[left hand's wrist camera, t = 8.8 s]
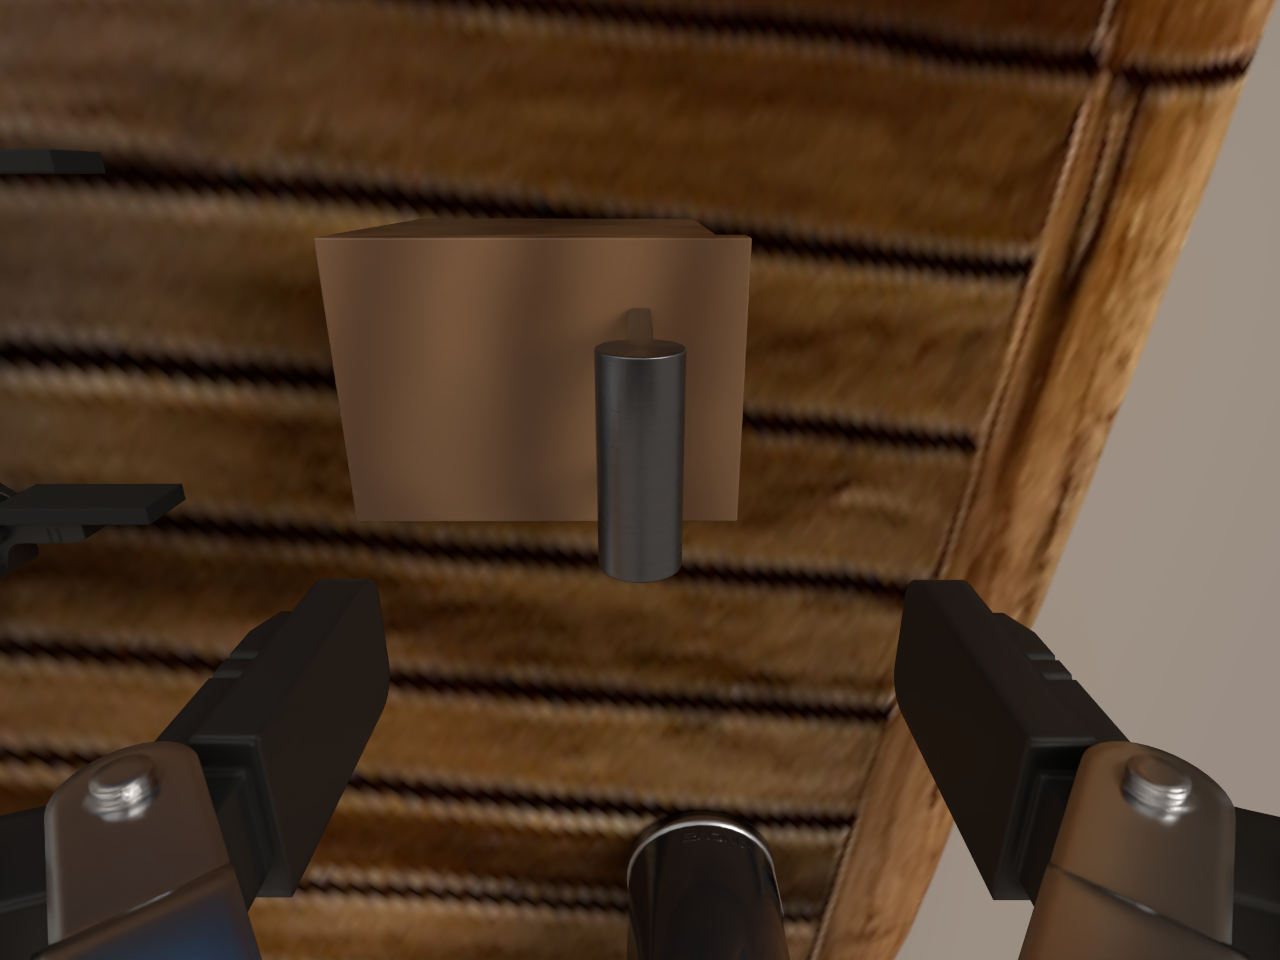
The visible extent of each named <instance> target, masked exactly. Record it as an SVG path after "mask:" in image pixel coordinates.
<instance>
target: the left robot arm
mask: <svg viewBox="0 0 1280 960" xmlns="http://www.w3.org/2000/svg"><path fill="white" fill-rule="evenodd" d="M389 680H390V670H389V661H388V654H387V647H386V640H385V633H384V627H383V620H382V613H381V606H380V599H379V593H378V589H377V586H376V584H375V582H374V581H373V580H372V579H319V580H318V581H317V582H316V583H315V584H314V585H313V586H312V587H311V589H310V590H309V591H308V592H307V594H306V595H305V596H304V597H303V598H302V600H301V601H300V602H299V603H298V605H297V606H296V607H295V608H294V610H293V611H292V612H280V613H278V614H277V615H275V616H273V617H272V618H270V619H269V620H267V621H265V622H264V623H262V624H261V625H259V626H257V627H256V628H254V629H253V630H251V631H250V632H249V633H248V634H247V635H246V636H245V638H244V639H243V640H242V641H241V642H240V643H239V645H238V646H237V647H236V648H235V649H234V650H233V651H232V653H231V654H230V659H226V660H225V661H224V662H223V663H222V664H221V665H220V666H219V668H218V669H217V670H216V671H215V672H214V677H213V678H209V679H208V680H207V681H206V683H205V684H204V685H203V686H202V687H201V688H200V690H199V691H198V692H197V693H196V694H195V695H194V697H193V698H192V699H191V700H190V701H189V702H188V703H187V705H186V706H185V707H184V708H183V709H182V710H181V712H180V713H179V714H178V715H177V716H176V717H175V718H174V720H173V721H172V722H171V723H170V724H169V725H168V727H167V728H166V729H165V730H164V731H163V732H162V733H161V735H160V736H159V737H158V738H157V739H156V740H155V742H148V743H142V744H138V745H133V746H130V747H126V748H123V749H120V750H117V751H115V752H112V753H110V754H107V755H105V756H103V757H101V758H99V759H97V760H95V761H93V762H92V763H90V764H88V765H86V766H85V767H83V768H82V769H80V770H79V771H77V772H76V773H75V774H73V775H72V776H71V777H70V778H68V779H67V780H66V781H65V782H64V783H63V784H62V785H61V786H60V787H59V788H58V789H57V790H56V791H55V792H54V794H53V795H52V797H51V798H50V800H49V802H48V804H47V806H42V807H38V808H33V809H29V810H24V811H20V812H15V813H11V814H6V815H2V816H0V960H262V958H261V955H260V952H259V949H258V945H257V942H256V939H255V936H254V932H253V929H252V926H251V922H250V919H249V916H248V913H247V912H248V910H249V909H250V907H251V905H252V903H253V901H254V899H255V897H293V895H294V893H295V891H296V888H297V886H298V884H299V882H300V880H301V878H302V876H303V874H304V872H305V870H306V868H307V866H308V864H309V862H310V860H311V858H312V855H313V853H314V851H315V849H316V847H317V845H318V843H319V841H320V839H321V837H322V835H323V833H324V831H325V829H326V827H327V825H328V823H329V820H330V818H331V816H332V814H333V812H334V810H335V808H336V806H337V804H338V802H339V800H340V798H341V796H342V794H343V792H344V790H345V788H346V785H347V783H348V781H349V779H350V777H351V775H352V773H353V771H354V769H355V767H356V765H357V763H358V761H359V759H360V757H361V755H362V752H363V750H364V748H365V746H366V744H367V742H368V740H369V738H370V736H371V734H372V732H373V730H374V728H375V726H376V724H377V722H378V720H379V717H380V715H381V713H382V711H383V709H384V707H385V704H386V700H387V696H388V690H389ZM894 684H895V693H896V698H897V702H898V705H899V708H900V711H901V713H902V715H903V717H904V719H905V721H906V723H907V725H908V727H909V729H910V731H911V733H912V735H913V737H914V739H915V741H916V744H917V746H918V748H919V750H920V752H921V754H922V756H923V758H924V760H925V762H926V764H927V766H928V768H929V770H930V772H931V774H932V776H933V778H934V780H935V782H936V784H937V786H938V788H939V790H940V792H941V794H942V796H943V798H944V800H945V803H946V805H947V807H948V809H949V811H950V813H951V815H952V817H953V819H954V821H955V823H956V825H957V827H958V829H959V831H960V833H961V835H962V837H963V839H964V841H965V843H966V845H967V847H968V849H969V851H970V853H971V855H972V857H973V859H974V862H975V864H976V866H977V868H978V870H979V872H980V874H981V876H982V878H983V880H984V882H985V884H986V886H987V888H988V890H989V892H990V894H991V896H992V898H993V900H1031V902H1032V904H1033V906H1034V909H1033V913H1032V916H1031V919H1030V922H1029V926H1028V929H1027V932H1026V936H1025V939H1024V942H1023V945H1022V949H1021V952H1020V955H1019V958H1018V960H1280V817H1277V816H1273V815H1268V814H1264V813H1259V812H1255V811H1250V810H1246V809H1242V808H1238V807H1234V806H1233V804H1232V802H1231V800H1230V798H1229V797H1228V795H1227V794H1226V792H1225V791H1224V790H1223V789H1222V788H1221V787H1220V786H1219V785H1218V784H1217V783H1216V782H1215V781H1214V780H1213V779H1212V778H1210V777H1209V776H1208V775H1207V774H1205V773H1204V772H1203V771H1201V770H1200V769H1198V768H1197V767H1195V766H1194V765H1192V764H1190V763H1188V762H1187V761H1185V760H1183V759H1181V758H1179V757H1177V756H1175V755H1173V754H1170V753H1168V752H1165V751H1163V750H1160V749H1157V748H1154V747H1150V746H1147V745H1142V744H1138V743H1132V742H1130V741H1129V740H1128V739H1127V738H1126V737H1125V735H1124V734H1123V733H1122V732H1121V731H1120V730H1119V729H1118V727H1117V726H1116V725H1115V724H1114V723H1113V722H1112V720H1111V719H1110V718H1109V717H1108V716H1107V715H1106V714H1105V712H1104V711H1103V710H1102V709H1101V708H1100V707H1099V706H1098V704H1097V703H1096V702H1095V701H1094V700H1093V699H1092V698H1091V696H1090V695H1089V694H1088V693H1087V692H1086V691H1085V690H1084V688H1083V687H1082V686H1081V685H1080V684H1079V683H1078V682H1077V681H1076V680H1072V675H1071V674H1070V672H1069V671H1068V670H1067V669H1066V668H1065V667H1064V666H1063V664H1062V663H1061V662H1060V661H1059V660H1055V655H1054V654H1053V653H1052V652H1051V651H1050V650H1049V648H1048V647H1047V646H1046V645H1045V644H1044V643H1043V642H1042V640H1041V639H1040V638H1039V637H1038V636H1037V635H1036V634H1035V633H1034V632H1033V631H1031V630H1030V629H1028V628H1027V627H1025V626H1023V625H1022V624H1020V623H1019V622H1017V621H1015V620H1014V619H1012V618H1011V617H1009V616H1007V615H1006V614H1004V613H992V611H991V610H990V609H989V608H988V606H987V605H986V604H985V603H984V601H983V600H982V599H981V598H980V597H979V595H978V594H977V593H976V592H975V590H974V589H973V588H972V587H971V586H970V584H969V583H968V582H966V581H965V580H913V581H911V582H910V584H909V585H908V587H907V590H906V594H905V600H904V607H903V614H902V621H901V627H900V634H899V641H898V647H897V654H896V661H895V669H894ZM775 879H776V877H775V870H774V864H773V859H772V855H771V851H770V848H769V846H768V844H767V842H766V840H765V839H764V838H763V836H762V835H761V834H760V833H759V832H758V831H757V830H756V829H755V828H754V827H752V826H751V825H749V824H748V823H746V822H744V821H743V820H741V819H738V818H736V817H733V816H731V815H727V814H724V813H718V812H711V811H693V812H685V813H680V814H677V815H673V816H670V817H667V818H665V819H663V820H661V821H659V822H657V823H655V824H653V825H652V826H651V827H649V828H648V829H647V830H645V831H644V832H643V833H642V834H641V835H640V836H639V837H638V839H637V840H636V841H635V843H634V845H633V846H632V848H631V851H630V853H629V857H628V862H627V886H628V934H627V960H790V957H789V952H788V947H787V941H786V936H785V931H784V926H783V921H782V915H781V909H780V904H779V899H778V894H777V889H776V884H775ZM776 883H777V882H776ZM777 888H778V886H777ZM778 892H779V891H778ZM779 897H780V895H779ZM780 902H781V900H780ZM781 906H782V905H781ZM782 911H783V910H782Z"/></svg>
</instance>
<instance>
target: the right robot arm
mask: <svg viewBox="0 0 1280 960" xmlns="http://www.w3.org/2000/svg"><path fill="white" fill-rule="evenodd" d="M0 174H105V169H104V165H103V161H102V157H101V153H100V152H86V151H68V150H49V149H47V150H0ZM184 500H185V495H184V491H183V487H182V484H36V485H34V486H32V487H30V488H28V489H26V490H24V491H23V492H21V493H19V494H17V493H16V492H14V491H12V490H11V489H9V488H8V487H6V486H4V485H3V484H1V483H0V580H1V579H3V578H4V577H6V576H7V575H9V574H11V573H12V572H14V571H15V570H17V569H19V568H20V567H22V566H23V565H25V564H27V563H28V562H30V561H31V560H33V559H34V558H36V557H37V555H38V547H37V545H36V544H35V543H77V542H79V541H82V540H84V539H86V538H88V537H89V536H91V535H92V534H94V533H95V532H97V531H98V530H100V529H102V528H103V527H105V526H106V525H150V524H151V523H153V522H154V521H155V520H157V519H158V518H160V517H161V516H163V515H164V514H165V513H167V512H168V511H170V510H171V509H173V508H174V507H175V506H177V505H178V504H180V503H181V502H183V501H184Z"/></svg>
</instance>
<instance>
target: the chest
mask: <svg viewBox="0 0 1280 960" xmlns="http://www.w3.org/2000/svg"><path fill="white" fill-rule="evenodd" d="M333 235H715V234H713V233H712V232H711V231H709V230H708V229H706V228H705V227H704V226H702V225H701V224H699V223H698V222H696V221H695V220H693V219H419V220H413V221H407V222H401V223H395V224H390V225H384V226H378V227H373V228H367V229H361V230H356V231H350V232H344V233H339V234H333Z"/></svg>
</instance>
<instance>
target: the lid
mask: <svg viewBox="0 0 1280 960" xmlns="http://www.w3.org/2000/svg"><path fill="white" fill-rule="evenodd" d="M314 244H315V250H316V257H317V263H318V270H319V277H320V283H321V290H322V296H323V303H324V309H325V316H326V323H327V329H328V336H329V342H330V349H331V355H332V362H333V369H334V375H335V382H336V388H337V395H338V401H339V408H340V415H341V421H342V428H343V434H344V441H345V447H346V454H347V460H348V467H349V474H350V480H351V487H352V493H353V500H354V506H355V513H356V520H357V521H598V552H599V566H600V568H601V570H602V571H603V572H604V573H605V574H607V575H608V576H610V577H612V578H615V579H618V580H621V581H626V582H634V583H647V582H655V581H659V580H663V579H666V578H668V577H670V576H672V575H674V574H675V573H676V572H677V571H678V570H679V569H680V567H681V564H682V526H683V521H737V512H738V492H739V473H740V454H741V435H742V416H743V397H744V378H745V359H746V339H747V320H748V301H749V282H750V263H751V244H752V239H751V238H750V237H748V236H746V235H328V236H322V237H316V238H314Z"/></svg>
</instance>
